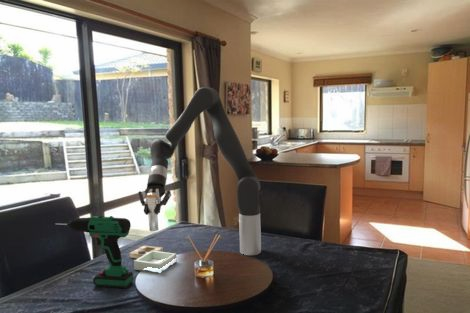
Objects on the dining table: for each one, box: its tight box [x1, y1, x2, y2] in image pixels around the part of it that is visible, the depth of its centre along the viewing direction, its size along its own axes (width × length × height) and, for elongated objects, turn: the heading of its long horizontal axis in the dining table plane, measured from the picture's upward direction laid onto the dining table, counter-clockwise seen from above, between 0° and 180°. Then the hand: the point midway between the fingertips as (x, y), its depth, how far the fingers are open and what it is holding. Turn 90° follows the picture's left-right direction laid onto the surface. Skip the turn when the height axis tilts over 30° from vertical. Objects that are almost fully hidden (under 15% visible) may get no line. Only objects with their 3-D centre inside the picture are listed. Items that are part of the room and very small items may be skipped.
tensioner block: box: [129, 245, 164, 259], centre depth 160 cm, size 10×10×3 cm
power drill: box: [54, 215, 134, 289], centre depth 132 cm, size 6×29×25 cm, turn 78°
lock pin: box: [146, 193, 159, 232], centre depth 147 cm, size 4×4×15 cm
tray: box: [133, 251, 177, 271], centre depth 148 cm, size 12×12×4 cm
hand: (151, 213), depth 146 cm, fingers closed on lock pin, 3 cm apart
